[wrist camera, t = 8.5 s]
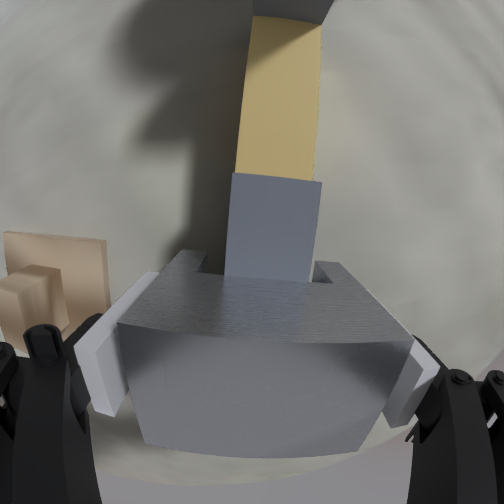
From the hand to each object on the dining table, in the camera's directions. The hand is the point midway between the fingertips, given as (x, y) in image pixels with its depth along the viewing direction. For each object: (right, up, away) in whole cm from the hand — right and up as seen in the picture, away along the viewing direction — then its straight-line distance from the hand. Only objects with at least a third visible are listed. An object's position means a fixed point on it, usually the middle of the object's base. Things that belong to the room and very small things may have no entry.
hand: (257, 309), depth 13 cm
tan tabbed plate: (-14, 0, +2) cm, 14 cm away
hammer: (0, +5, +1) cm, 6 cm away
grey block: (0, 0, 0) cm, 1 cm away
